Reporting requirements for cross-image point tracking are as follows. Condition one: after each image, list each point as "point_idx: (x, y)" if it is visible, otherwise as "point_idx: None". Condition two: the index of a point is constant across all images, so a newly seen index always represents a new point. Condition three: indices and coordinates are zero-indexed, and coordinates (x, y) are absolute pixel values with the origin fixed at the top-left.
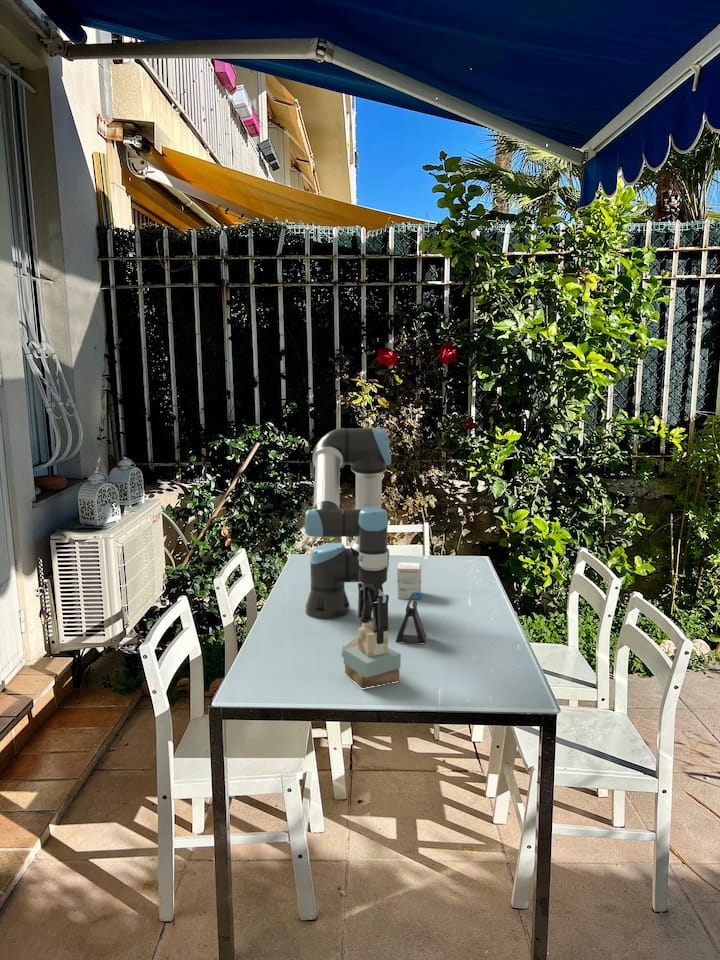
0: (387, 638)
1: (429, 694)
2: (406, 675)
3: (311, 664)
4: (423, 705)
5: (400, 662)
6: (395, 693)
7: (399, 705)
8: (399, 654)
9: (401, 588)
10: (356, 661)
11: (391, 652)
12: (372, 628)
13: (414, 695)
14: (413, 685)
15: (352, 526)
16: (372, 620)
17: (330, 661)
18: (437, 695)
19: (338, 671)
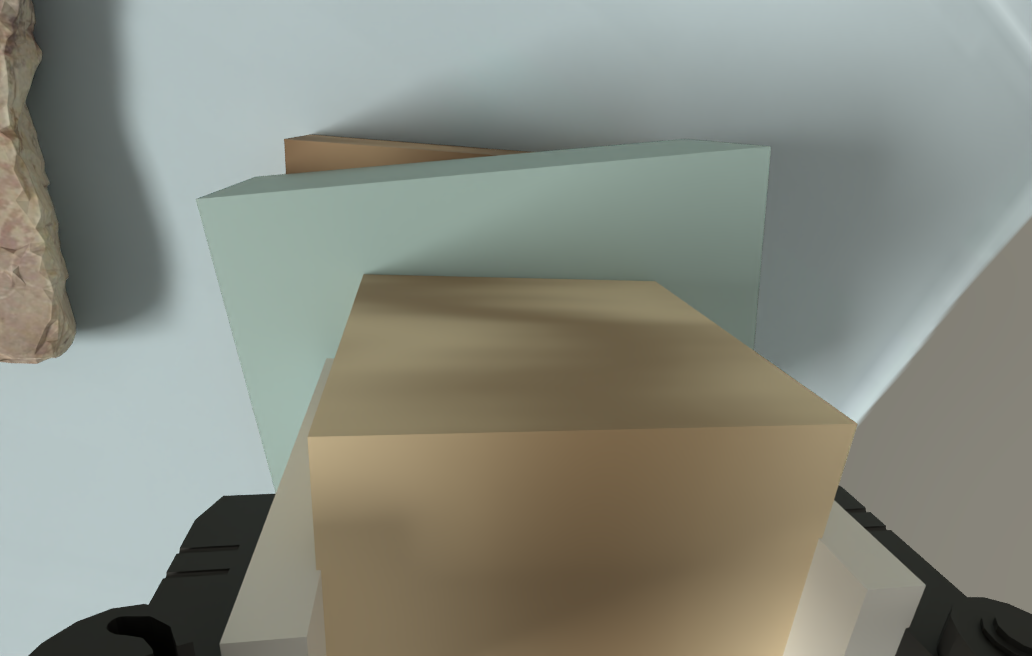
0: (761, 361)
1: (942, 70)
2: (586, 22)
3: (52, 602)
4: (1006, 210)
5: (714, 142)
6: (778, 284)
7: (905, 341)
8: (766, 164)
9: None
10: None
11: (669, 229)
12: (511, 626)
13: (880, 182)
14: (765, 89)
15: None
16: (172, 611)
17: (31, 470)
18: (992, 23)
19: (261, 480)
